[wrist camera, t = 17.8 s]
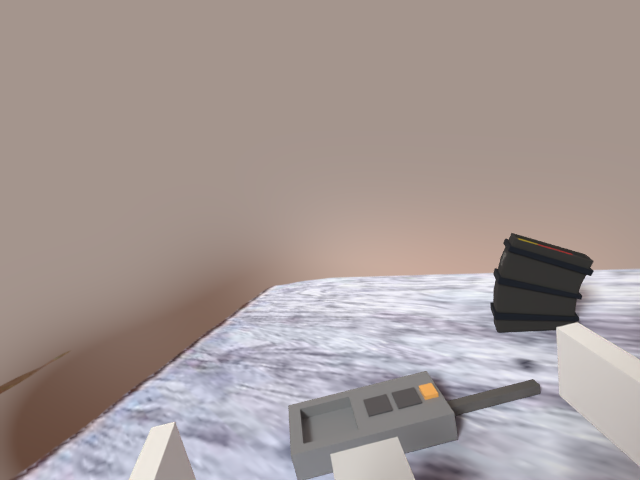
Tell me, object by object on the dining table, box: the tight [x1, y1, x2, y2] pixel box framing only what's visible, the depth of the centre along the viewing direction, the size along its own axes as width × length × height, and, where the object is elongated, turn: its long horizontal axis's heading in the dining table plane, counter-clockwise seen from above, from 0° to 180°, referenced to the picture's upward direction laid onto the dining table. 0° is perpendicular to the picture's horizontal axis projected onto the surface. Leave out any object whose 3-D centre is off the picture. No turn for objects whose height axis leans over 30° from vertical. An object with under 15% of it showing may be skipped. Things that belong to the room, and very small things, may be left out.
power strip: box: [289, 371, 540, 480], centre depth 46 cm, size 30×8×4 cm, turn 97°
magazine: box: [491, 233, 593, 332], centre depth 58 cm, size 4×13×15 cm, turn 76°
